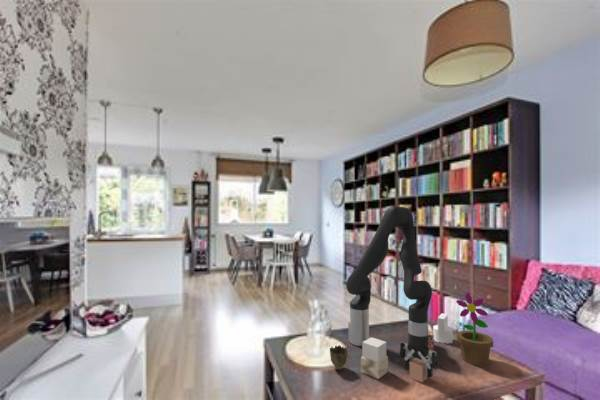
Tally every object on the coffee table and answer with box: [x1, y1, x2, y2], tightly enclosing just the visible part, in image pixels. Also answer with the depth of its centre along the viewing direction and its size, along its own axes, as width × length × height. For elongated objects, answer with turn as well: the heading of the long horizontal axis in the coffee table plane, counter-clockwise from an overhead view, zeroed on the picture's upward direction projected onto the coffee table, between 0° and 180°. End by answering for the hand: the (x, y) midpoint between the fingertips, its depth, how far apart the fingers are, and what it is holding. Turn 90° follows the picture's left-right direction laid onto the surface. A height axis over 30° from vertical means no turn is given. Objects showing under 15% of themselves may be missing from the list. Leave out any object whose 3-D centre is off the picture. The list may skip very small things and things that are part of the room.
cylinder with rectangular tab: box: [432, 313, 454, 345], centre depth 161 cm, size 9×9×12 cm
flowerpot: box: [455, 292, 494, 367], centre depth 139 cm, size 14×14×30 cm
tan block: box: [409, 357, 428, 383], centre depth 125 cm, size 5×5×6 cm
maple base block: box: [360, 355, 389, 380], centre depth 129 cm, size 8×8×6 cm
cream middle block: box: [361, 336, 387, 363], centre depth 130 cm, size 7×7×6 cm
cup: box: [329, 345, 348, 371], centre depth 132 cm, size 8×7×8 cm
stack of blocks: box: [419, 324, 435, 362], centre depth 148 cm, size 21×6×12 cm, turn 165°
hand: (418, 373), depth 125 cm, fingers open, 8 cm apart
